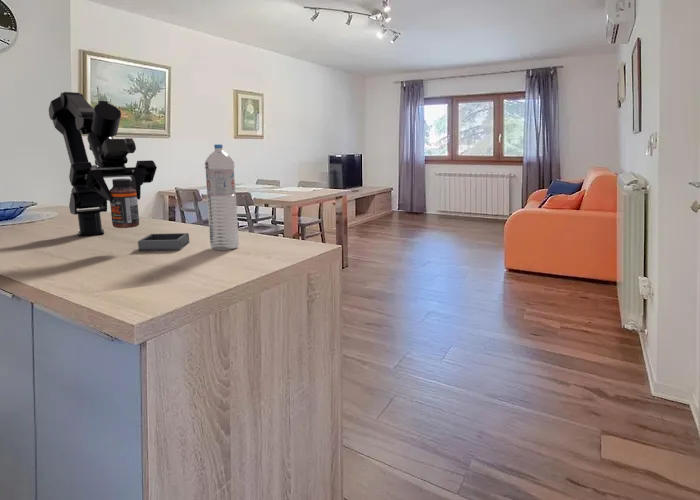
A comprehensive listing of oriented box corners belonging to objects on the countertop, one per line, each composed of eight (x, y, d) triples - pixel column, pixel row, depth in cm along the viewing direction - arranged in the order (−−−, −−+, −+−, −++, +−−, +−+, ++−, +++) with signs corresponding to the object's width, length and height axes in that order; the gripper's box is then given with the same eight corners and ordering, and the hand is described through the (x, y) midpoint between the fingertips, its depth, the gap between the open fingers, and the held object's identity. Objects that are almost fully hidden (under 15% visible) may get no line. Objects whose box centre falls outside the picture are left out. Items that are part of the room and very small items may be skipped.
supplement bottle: (106, 227, 114) (101, 179, 112) (126, 223, 120) (122, 177, 117) (125, 229, 112) (120, 180, 110) (145, 225, 117) (140, 178, 115)
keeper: (138, 251, 116) (137, 241, 116) (151, 243, 125) (150, 233, 125) (179, 250, 117) (178, 240, 116) (189, 242, 126) (188, 233, 126)
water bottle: (231, 251, 115) (225, 144, 110) (205, 250, 117) (197, 144, 111) (243, 245, 122) (237, 144, 116) (218, 244, 123) (211, 144, 118)
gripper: (65, 125, 107) (86, 178, 102) (150, 127, 120) (172, 174, 114) (61, 160, 115) (80, 211, 109) (141, 158, 127) (162, 204, 122)
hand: (125, 199), depth 113 cm, fingers closed on supplement bottle, 6 cm apart
